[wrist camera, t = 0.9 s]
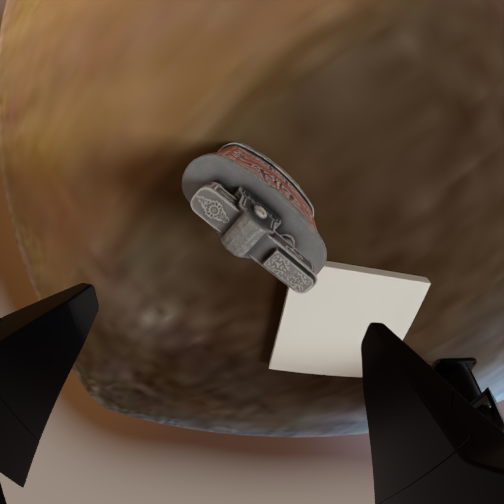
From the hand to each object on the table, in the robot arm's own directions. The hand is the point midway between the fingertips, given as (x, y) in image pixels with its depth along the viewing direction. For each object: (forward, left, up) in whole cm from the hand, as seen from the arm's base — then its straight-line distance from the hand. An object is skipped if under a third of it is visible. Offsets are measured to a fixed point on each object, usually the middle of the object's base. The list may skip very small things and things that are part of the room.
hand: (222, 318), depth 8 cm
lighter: (0, -1, -14) cm, 14 cm away
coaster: (-9, +10, -13) cm, 19 cm away
